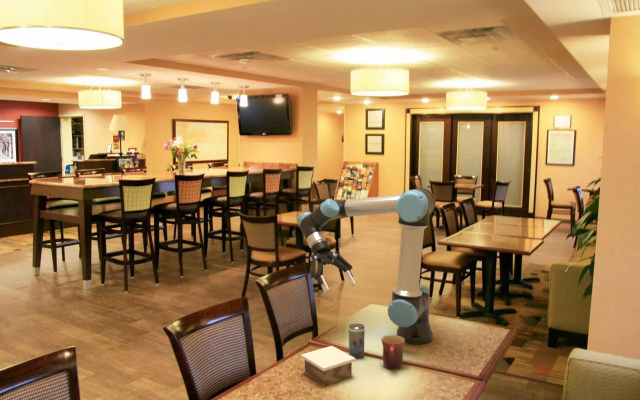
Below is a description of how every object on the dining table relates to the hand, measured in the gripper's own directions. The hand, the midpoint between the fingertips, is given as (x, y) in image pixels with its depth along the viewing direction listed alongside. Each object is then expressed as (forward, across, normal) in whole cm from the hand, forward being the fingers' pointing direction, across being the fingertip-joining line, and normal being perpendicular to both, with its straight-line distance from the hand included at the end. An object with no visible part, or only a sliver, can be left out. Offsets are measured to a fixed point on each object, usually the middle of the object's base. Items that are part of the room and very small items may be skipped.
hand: (340, 288), depth 206 cm
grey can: (+25, 0, -10) cm, 27 cm away
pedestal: (+29, +19, -5) cm, 36 cm away
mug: (+36, -4, +1) cm, 36 cm away
